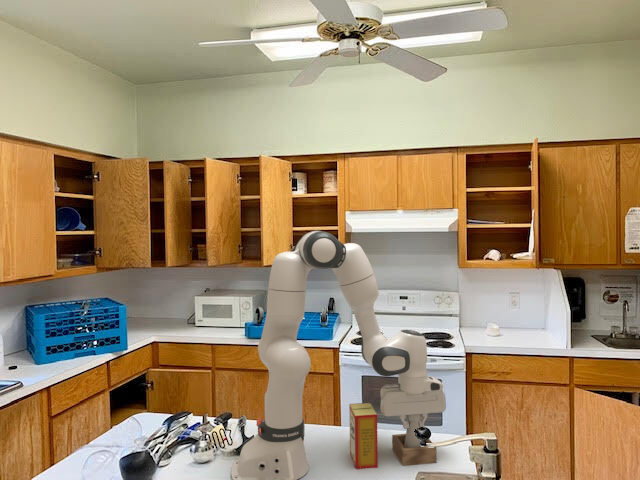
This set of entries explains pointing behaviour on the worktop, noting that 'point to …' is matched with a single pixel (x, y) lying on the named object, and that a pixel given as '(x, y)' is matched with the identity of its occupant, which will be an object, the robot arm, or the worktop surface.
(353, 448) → the baking soda box
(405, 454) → the box
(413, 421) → the salt shaker
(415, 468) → the worktop surface
